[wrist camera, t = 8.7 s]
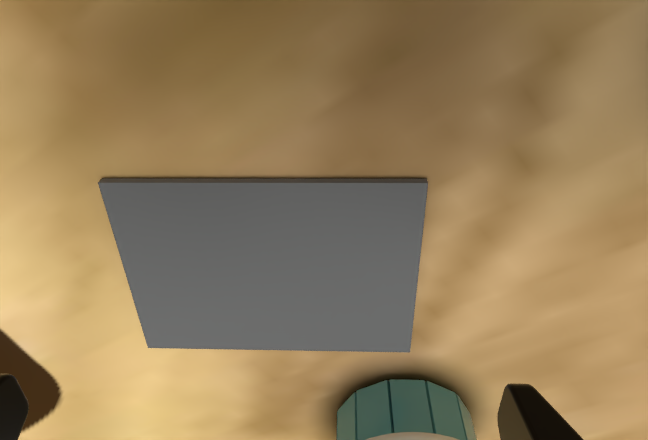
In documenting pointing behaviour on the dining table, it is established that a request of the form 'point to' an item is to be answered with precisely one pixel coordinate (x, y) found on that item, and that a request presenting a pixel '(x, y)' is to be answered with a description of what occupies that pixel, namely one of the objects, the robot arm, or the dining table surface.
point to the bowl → (403, 411)
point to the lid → (412, 436)
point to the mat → (271, 261)
